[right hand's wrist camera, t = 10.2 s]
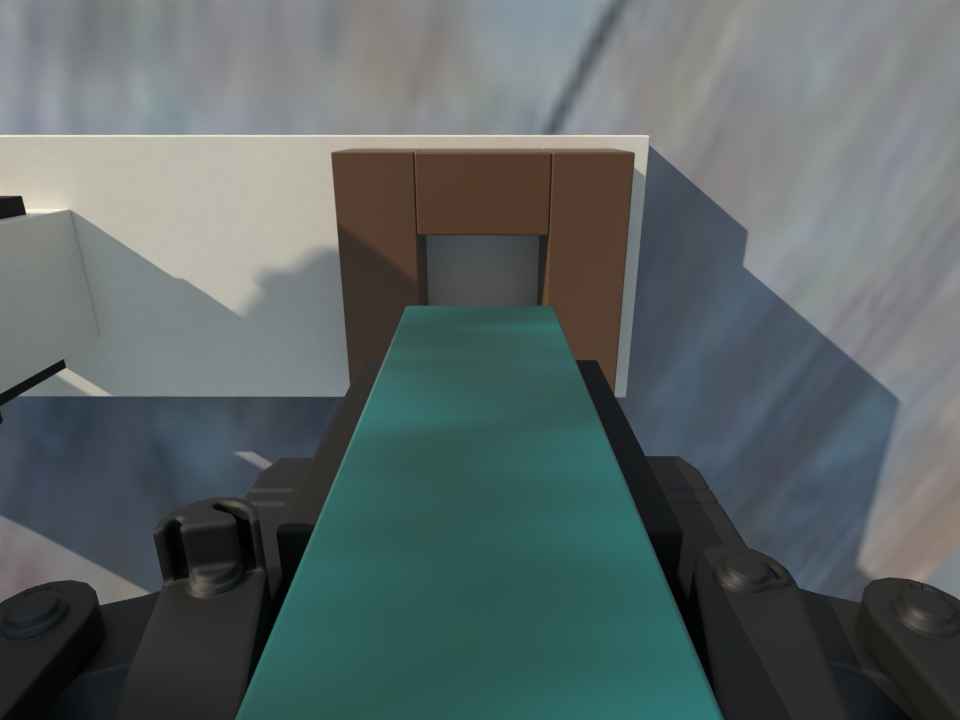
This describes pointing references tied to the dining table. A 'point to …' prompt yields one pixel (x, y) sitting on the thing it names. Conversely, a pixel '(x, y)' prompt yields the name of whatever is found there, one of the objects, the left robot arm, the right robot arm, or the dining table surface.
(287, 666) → the peg
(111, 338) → the peg board
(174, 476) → the dining table surface
